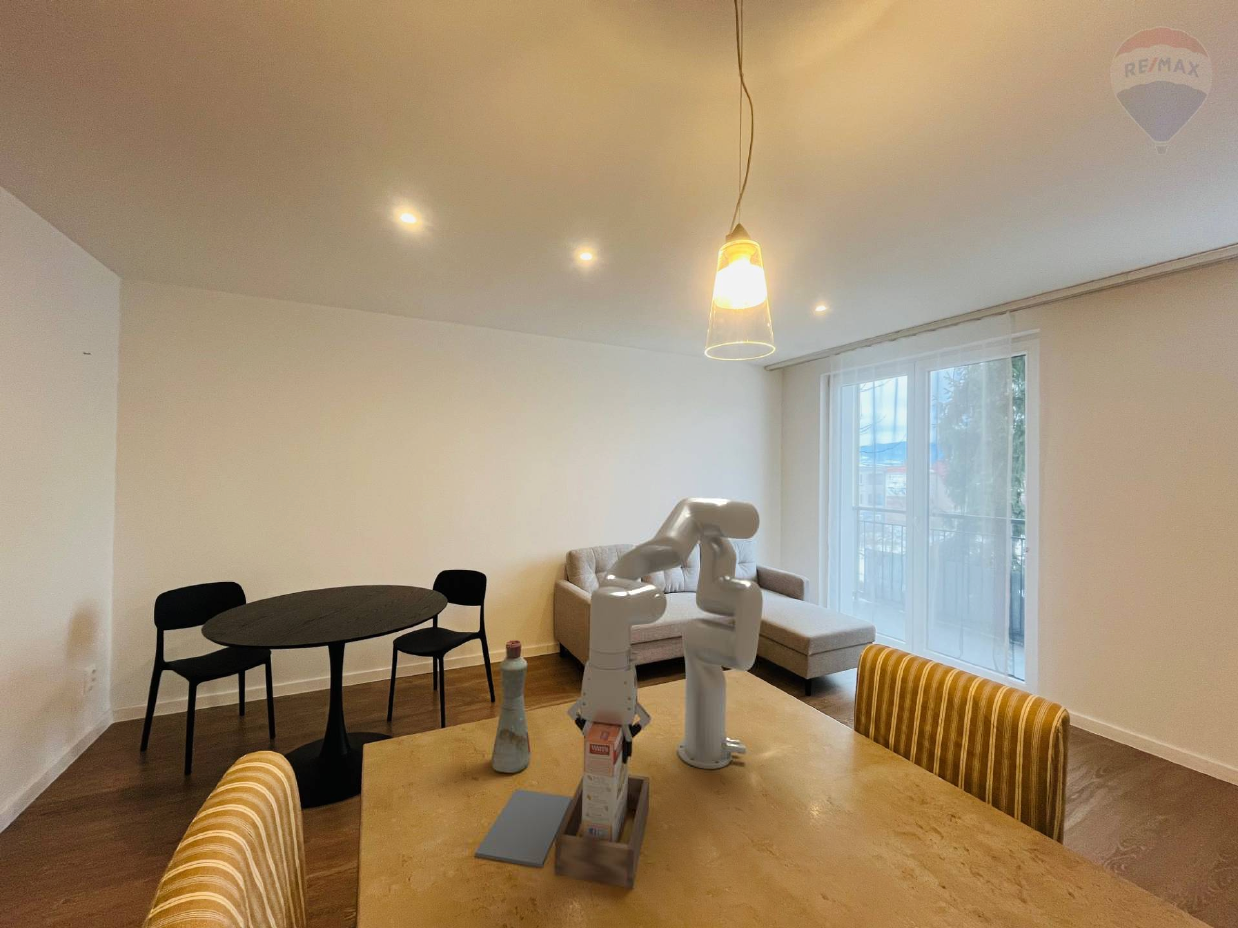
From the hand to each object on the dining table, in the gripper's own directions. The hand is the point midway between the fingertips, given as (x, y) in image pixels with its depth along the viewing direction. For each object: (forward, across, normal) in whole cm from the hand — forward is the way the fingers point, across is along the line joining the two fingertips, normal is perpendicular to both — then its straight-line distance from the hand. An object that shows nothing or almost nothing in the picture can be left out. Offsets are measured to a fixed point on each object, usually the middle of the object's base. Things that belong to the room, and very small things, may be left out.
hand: (607, 756), depth 91 cm
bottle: (+15, +26, -18) cm, 35 cm away
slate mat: (+15, +15, 0) cm, 21 cm away
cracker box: (+15, 0, 0) cm, 15 cm away
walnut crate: (+15, 0, 0) cm, 15 cm away
